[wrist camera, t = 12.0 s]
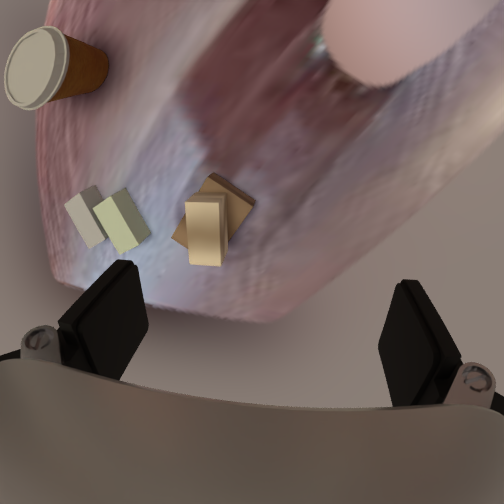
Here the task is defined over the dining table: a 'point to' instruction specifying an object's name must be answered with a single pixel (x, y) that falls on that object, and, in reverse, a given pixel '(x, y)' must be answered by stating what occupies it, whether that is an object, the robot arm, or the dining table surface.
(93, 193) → the grey brick
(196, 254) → the beech brick
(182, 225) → the walnut base
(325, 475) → the robot arm
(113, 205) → the sage brick
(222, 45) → the dining table surface
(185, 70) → the dining table surface
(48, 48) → the disposable coffee cup
